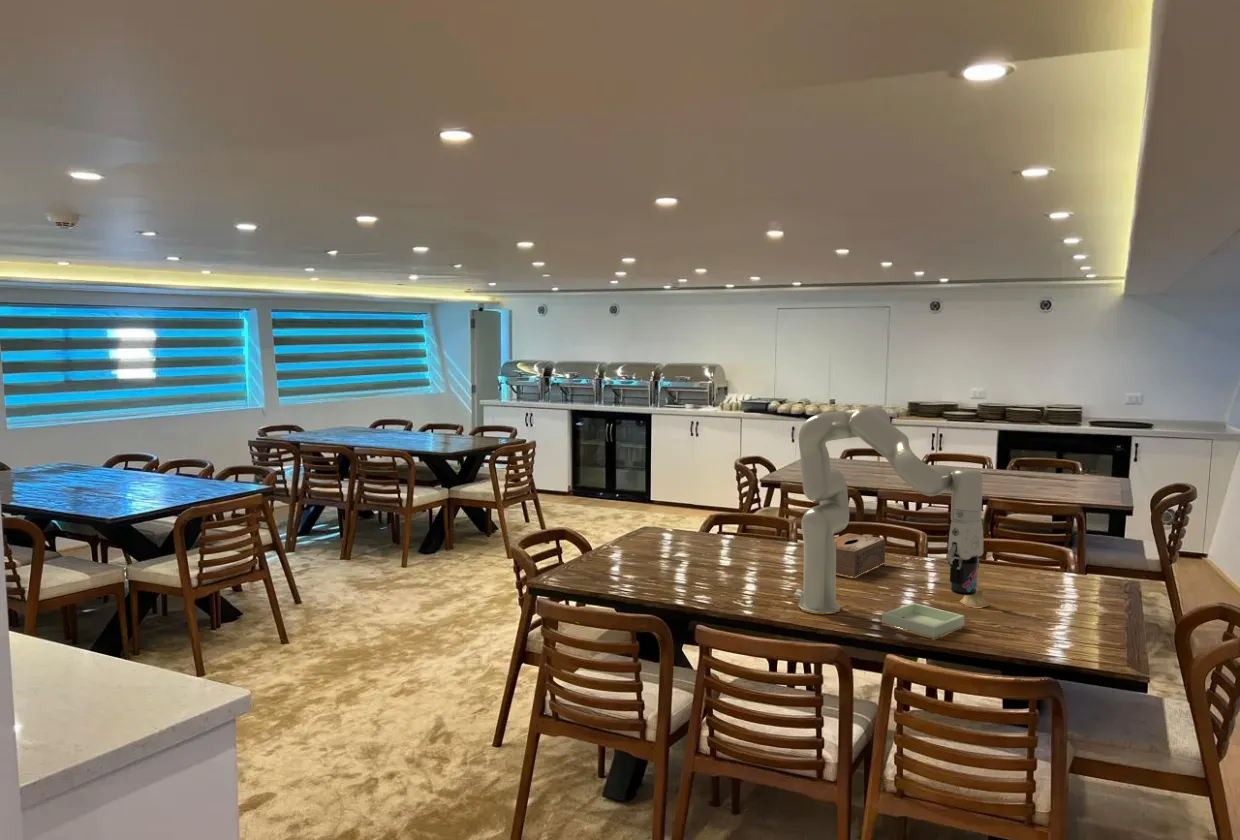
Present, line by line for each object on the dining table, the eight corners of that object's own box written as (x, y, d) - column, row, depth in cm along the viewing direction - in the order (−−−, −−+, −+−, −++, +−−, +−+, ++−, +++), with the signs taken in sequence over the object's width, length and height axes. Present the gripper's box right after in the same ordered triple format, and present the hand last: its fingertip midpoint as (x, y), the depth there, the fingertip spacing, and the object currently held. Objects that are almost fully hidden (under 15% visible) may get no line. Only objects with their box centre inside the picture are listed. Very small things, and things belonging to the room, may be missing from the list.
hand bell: (971, 609, 246) (973, 558, 245) (953, 602, 254) (954, 551, 253) (994, 607, 248) (996, 556, 247) (975, 599, 256) (977, 549, 255)
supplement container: (957, 596, 215) (959, 557, 214) (945, 589, 222) (946, 551, 221) (982, 595, 216) (983, 556, 215) (968, 588, 222) (969, 550, 222)
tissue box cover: (854, 580, 280) (854, 551, 280) (815, 573, 290) (816, 545, 289) (884, 565, 300) (885, 538, 299) (847, 559, 309) (848, 533, 308)
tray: (882, 625, 232) (882, 613, 232) (912, 614, 242) (912, 602, 242) (934, 640, 220) (934, 627, 219) (964, 627, 230) (964, 615, 229)
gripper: (961, 521, 209) (958, 589, 210) (996, 513, 219) (994, 578, 221) (934, 516, 215) (932, 583, 216) (970, 509, 225) (968, 572, 227)
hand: (963, 580), depth 218 cm, fingers closed on supplement container, 6 cm apart
